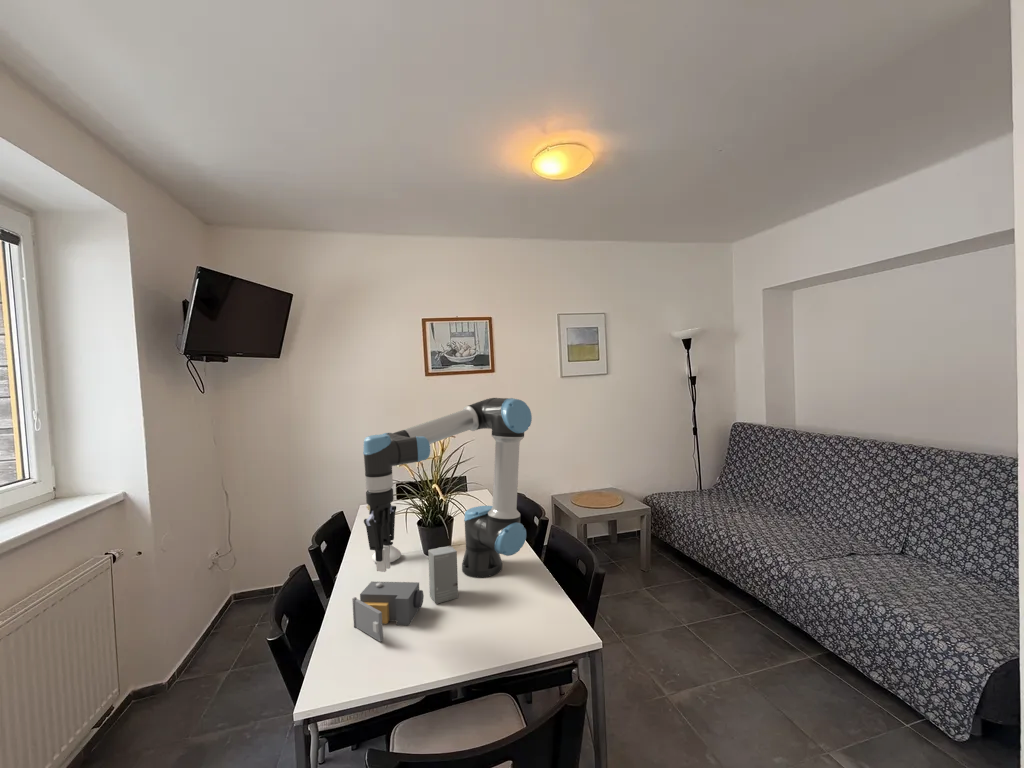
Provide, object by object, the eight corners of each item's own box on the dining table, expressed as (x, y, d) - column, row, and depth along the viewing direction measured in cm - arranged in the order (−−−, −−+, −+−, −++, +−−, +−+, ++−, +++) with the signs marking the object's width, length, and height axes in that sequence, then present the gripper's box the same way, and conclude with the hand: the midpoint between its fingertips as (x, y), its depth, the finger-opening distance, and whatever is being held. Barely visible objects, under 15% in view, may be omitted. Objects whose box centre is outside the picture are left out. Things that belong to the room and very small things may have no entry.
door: (353, 628, 130) (352, 601, 130) (359, 625, 131) (357, 599, 131) (377, 643, 122) (376, 614, 122) (383, 639, 124) (381, 611, 123)
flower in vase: (405, 554, 182) (402, 494, 181) (395, 566, 171) (392, 502, 170) (374, 553, 184) (371, 494, 183) (363, 566, 172) (359, 503, 171)
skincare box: (435, 605, 142) (432, 556, 141) (428, 595, 148) (426, 549, 147) (460, 598, 146) (457, 550, 145) (452, 588, 152) (450, 543, 151)
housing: (425, 607, 141) (423, 580, 140) (412, 629, 129) (410, 600, 128) (370, 605, 143) (369, 579, 143) (353, 627, 131) (351, 598, 131)
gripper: (382, 481, 135) (386, 557, 136) (352, 495, 121) (357, 579, 122) (404, 482, 133) (407, 559, 134) (376, 496, 119) (380, 582, 120)
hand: (383, 569), depth 128 cm, fingers closed
